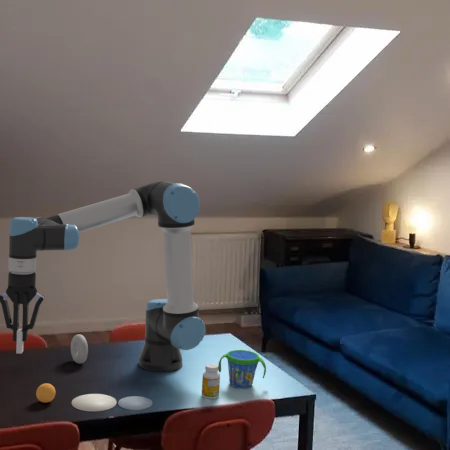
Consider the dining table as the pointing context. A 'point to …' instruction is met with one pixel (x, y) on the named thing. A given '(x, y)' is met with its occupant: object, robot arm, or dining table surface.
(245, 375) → the snack cup
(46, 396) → the ball
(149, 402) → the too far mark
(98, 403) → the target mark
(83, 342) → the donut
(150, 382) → the dining table surface
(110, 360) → the dining table surface
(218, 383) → the supplement bottle
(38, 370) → the dining table surface
